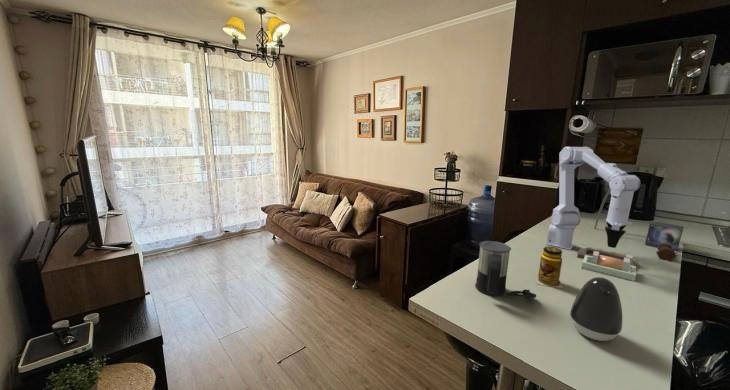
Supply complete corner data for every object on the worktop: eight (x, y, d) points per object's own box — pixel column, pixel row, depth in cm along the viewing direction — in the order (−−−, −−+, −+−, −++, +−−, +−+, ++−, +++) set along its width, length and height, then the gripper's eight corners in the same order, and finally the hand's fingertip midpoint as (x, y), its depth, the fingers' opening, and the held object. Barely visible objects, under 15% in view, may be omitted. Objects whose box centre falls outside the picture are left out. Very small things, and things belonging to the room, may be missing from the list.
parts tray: (581, 268, 111) (582, 262, 111) (584, 260, 118) (585, 255, 117) (634, 281, 102) (636, 275, 101) (634, 272, 108) (635, 266, 108)
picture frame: (644, 245, 136) (649, 223, 134) (646, 241, 140) (651, 220, 138) (677, 252, 128) (683, 229, 126) (678, 248, 132) (683, 226, 130)
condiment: (537, 284, 99) (542, 250, 96) (533, 273, 107) (538, 242, 104) (563, 289, 96) (569, 254, 94) (557, 277, 104) (562, 245, 101)
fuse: (590, 267, 111) (592, 254, 110) (591, 262, 115) (594, 250, 114) (627, 276, 105) (629, 263, 104) (627, 271, 108) (629, 258, 107)
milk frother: (471, 281, 100) (475, 239, 97) (518, 282, 100) (524, 241, 97) (486, 305, 87) (491, 257, 83) (541, 307, 86) (548, 259, 83)
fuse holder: (577, 257, 121) (578, 249, 120) (580, 249, 129) (581, 242, 128) (632, 270, 110) (634, 261, 109) (632, 261, 118) (634, 252, 117)
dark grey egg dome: (574, 341, 72) (585, 284, 68) (563, 317, 81) (572, 266, 78) (626, 353, 68) (640, 293, 65) (608, 326, 78) (620, 273, 74)
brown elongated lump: (665, 254, 130) (667, 264, 119) (652, 246, 132) (653, 255, 122) (677, 245, 127) (680, 254, 116) (664, 237, 130) (666, 245, 119)
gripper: (634, 214, 98) (626, 253, 101) (634, 206, 109) (626, 241, 112) (607, 210, 103) (600, 247, 106) (609, 203, 113) (602, 237, 116)
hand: (612, 244), depth 109 cm, fingers open, 7 cm apart
